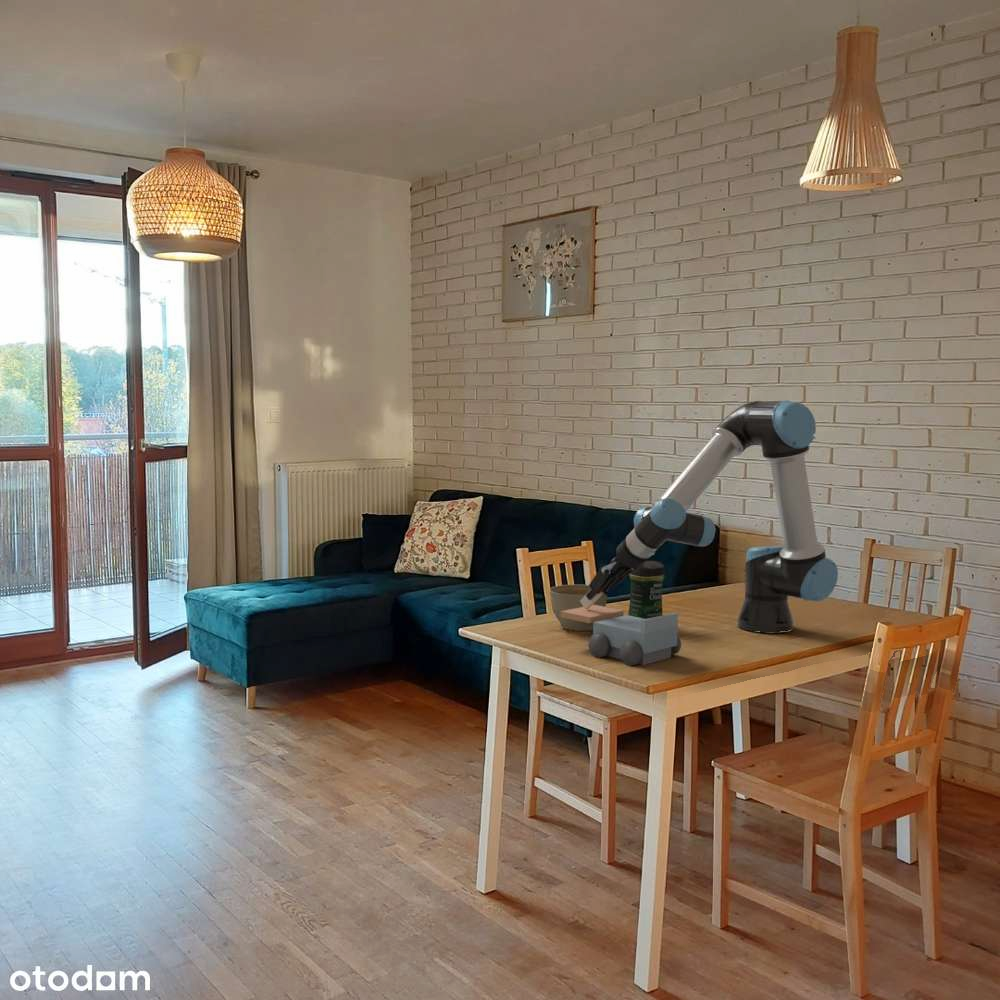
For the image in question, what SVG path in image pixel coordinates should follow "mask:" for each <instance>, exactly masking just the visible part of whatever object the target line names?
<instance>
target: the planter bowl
mask: <svg viewBox="0 0 1000 1000" xmlns="http://www.w3.org/2000/svg"><path fill="white" fill-rule="evenodd" d="M590 589H591V588H590V587H589V584H562V585H556V586H552V587H550V588H549V589H548V590H549V596H550V599H549V600H550V604H551V609H552V611H553V614H554V616H555V617H556V619H557V620H558V621H559V624H560V627H561V628H562V627H563V628H565V629H564V630H566V629H569V630H568V631H572V630H575V631H576V632H585V631H586V632H587V631H592V630H593V623H586V622H582V621H577V620H572V619H568V618H563V617H561V611H565V610H570V609H575V608H580V607H583V605H582V604H581V602H580V600H581V599H582V598H583V597H584V596H585V595H586V594H587V593H588V592H589V590H590ZM607 592H608V593H609V590H608V591H607ZM607 599H608V594H607V595H605V594H604V592H603V594H602V595H601V596H600V597H599V599H598V600H597V601H596V602H595V603H594V604H593V605H598V606H603V607H607ZM563 628H562V629H563ZM575 631H574V632H575Z"/></svg>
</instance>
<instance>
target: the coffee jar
mask: <svg viewBox="0 0 1000 1000" xmlns="http://www.w3.org/2000/svg"><path fill="white" fill-rule="evenodd" d="M629 578H630V598H629V604H628V605H629V607H628V614H627V615H629V616H634V617H639V618H643V619H648V618H652V617H657V616H661V615H664V614H663V593H662V592H663V591H662V590H663V582H664V579H665V565H664V564H663V562H660V561H655V560H647V561H646V562H645V563H644V564H643V565H642V566H641V567H640V568H638V569H636V570H635V571H633V572H632V573H631V574H630V575H629Z"/></svg>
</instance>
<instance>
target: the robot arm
mask: <svg viewBox="0 0 1000 1000" xmlns="http://www.w3.org/2000/svg"><path fill="white" fill-rule="evenodd" d="M816 427H817V426H816V420H815V417H814V414H813V413H812V411H811V410H810V409H809V408H808V406H806V405H804V404H803V403H802V402H797V401H790V400H777V401H776V400H774V401H773V400H770V401H768V400H767V401H765V400H763V401H761V400H755V401H754V400H753V401H751V402H747V403H745V404H743V405H740V406H738V408H736V409H734V410H733V411H731V412H730V413H729V414H728V415H727V416H726V417H725V418H723V419H722V420H721V421H720V423H718V425H716V427H715V428H714V429H713V430H712V432H711V436H712V437H711V438H710V440H709V441H708V442H707V443H706V444H705V445H704V446H703V447H702V449H701V450H700V451H699V452H698V453H697V454H696V455H695V457H694V458H692V460H691V462H690V463H689V464H688V465H687V466H686V467H685V468H684V469H683V470H682V471H681V473H680V474H679V475H678V476H677V478H676V479H675V480H674V481H673V482H672V483H671V484H670V485H669V486H668V487H667V489H666V490H665V491H664V492H663V493H662V495H661V496H660V497H659V498H658V499H657V500H656V501H655V503H654V504H652V505H651V506H645V507H642V508H640V509H638V510H637V511H636V512H635V514H634V518H633V526H634V528H633V529H632V530H631V531H630V532H629V533H628V535H626V537H625V538H623V540H622V541H621V542H620V543H619V545H617V547H616V552H615V553H616V556H615V557H613V558H612V559H611V560H610V562H609V564H607V565H606V564H605V563H602V564H601V565H600V566H599V569H598V571H597V572H596V574H595V575H594V576H593V579H592V580H591V581H590V583H589V584H588V585H589V587H590V588H591V589H590V590H589V592H588V593H587V594H586V595H585V596H584V597H583V598H582V599H581V600H580V602H581V604H582V605H583V607H584V608H585V609H589V608H590V607H591V606H592V605H593V604H594V603H595V602H596V601H597V600H598V599H599V597H600V596H601V595H602V594H603V592H604V594H605V595H607V596H608V595H609V591H612V590H614V589H615V588H616V587H617V586H618V585H619V584H620V583H621V582H623V581H624V580H625V579H627V578H628V577H629V576H630V574H631V573H632V572H633V571H635V570H636V569H638V568H640V567H641V566H642V565H643V564H644V563H645V562H646V561H649V560H648V559H649V558H651V557H652V556H654V555H655V554H656V551H657V550H658V549H659V548H660V547H661V546H662V545H663V544H664V543H665V542H666V541H668V542H673V543H681V544H685V545H691V546H693V547H702V548H703V547H707V546H709V545H710V544H711V543H712V542H713V541H714V538H715V535H716V525H715V522H714V521H713V520H712V519H711V518H710V517H707V516H704V515H701V514H696V513H695V514H694V513H691V512H688V511H689V510H690V508H691V507H692V506H693V505H694V504H695V502H696V501H697V500H698V499H699V498H700V496H702V494H703V493H704V492H705V491H706V489H707V488H708V487H709V486H710V485H711V484H712V483H713V482H714V480H715V479H716V478H717V477H718V476H719V475H720V474H721V472H722V471H723V470H724V468H725V467H726V466H727V465H728V464H729V463H730V462H731V460H732V459H734V457H735V456H736V457H738V456H740V455H741V454H743V452H744V451H745V450H746V449H748V448H750V447H754V446H760V447H761V451H762V456H763V458H764V459H766V460H767V461H769V463H770V467H771V468H770V469H771V474H772V481H773V485H774V486H773V487H774V491H775V492H774V493H775V499H776V504H777V510H778V517H779V523H780V530H781V537H782V540H783V541H782V542H783V545H767V546H764V545H763V546H754V547H750V548H749V549H748V550H747V552H746V556H745V557H746V559H745V569H744V570H745V575H744V577H745V579H744V580H745V581H744V583H745V585H744V601H743V603H742V606H741V608H740V612H739V614H738V617H737V625H738V626H737V628H739V627H740V628H739V629H741V628H742V629H741V630H744V629H746V630H745V631H747V630H751V631H750V632H752V631H760V632H780V631H788V630H791V629H793V630H794V619H793V616H792V612H791V609H790V605H789V601H788V600H789V597H792V598H797V599H801V600H804V601H812V602H821V601H823V600H826V599H827V598H828V597H829V596H830V595H832V593H833V591H834V589H835V587H837V586H836V585H837V582H838V578H839V571H838V567H837V564H836V563H835V562H834V561H833V560H832V559H831V558H827V557H826V550H825V549H826V548H825V547H824V545H822V544H821V543H820V542H818V538H817V537H818V536H817V530H816V524H815V518H814V517H815V516H814V513H813V505H812V499H811V498H812V497H811V492H810V486H809V478H808V474H807V468H806V467H807V466H806V461H805V460H806V459H805V456H806V454H808V452H809V450H810V444H811V443H812V442H813V440H814V438H815V436H814V435H815V434H816V430H817V429H816ZM607 591H608V592H607ZM760 632H759V633H760Z"/></svg>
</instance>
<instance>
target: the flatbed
mask: <svg viewBox="0 0 1000 1000" xmlns="http://www.w3.org/2000/svg"><path fill="white" fill-rule="evenodd" d="M678 618H679V613H678V612H671V613H666V614H663V615H661V616H657V617H652V618H648V619H643V618H639V617H634V616H629V615H628V614H627V615H626V614H624V616H620V617H616V618H611V619H606V620H601V621H597V622H593V629H592V630H593V631H592V632H593V633H592V635H591V636H590V637H589V639H588V650H589V652H590V653H591V655H592V656H593V657H595V658H604V657H608V658H609V657H610V658H614V659H618V660H621V661H622V662H623V663H624V664H625V665H627V666H629V667H630V666H635V665H641V666H644V665H648V664H652V663H655V662H660V661H663V660H666V659H670V658H672V656H673V655H676V654H678V653H679V652H680V651H681V647H682V641H681V638H680V637H679V635H678V628H679V625H678V623H679V619H678Z"/></svg>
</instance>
